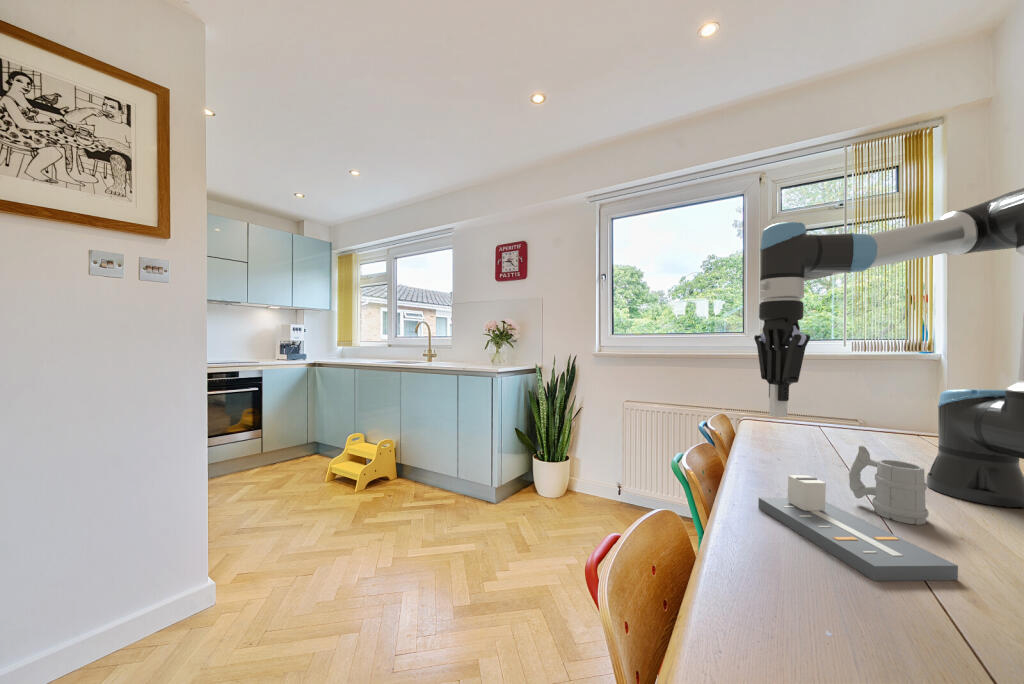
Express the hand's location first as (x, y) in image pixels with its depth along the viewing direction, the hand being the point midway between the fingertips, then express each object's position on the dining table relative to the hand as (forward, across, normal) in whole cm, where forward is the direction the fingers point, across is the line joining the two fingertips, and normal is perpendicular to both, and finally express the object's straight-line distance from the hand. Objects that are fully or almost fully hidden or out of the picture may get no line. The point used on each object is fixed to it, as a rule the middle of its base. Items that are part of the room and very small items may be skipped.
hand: (778, 416), depth 82 cm
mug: (+18, +5, +18) cm, 26 cm away
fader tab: (+15, +7, 0) cm, 17 cm away
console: (+18, +15, 0) cm, 23 cm away
